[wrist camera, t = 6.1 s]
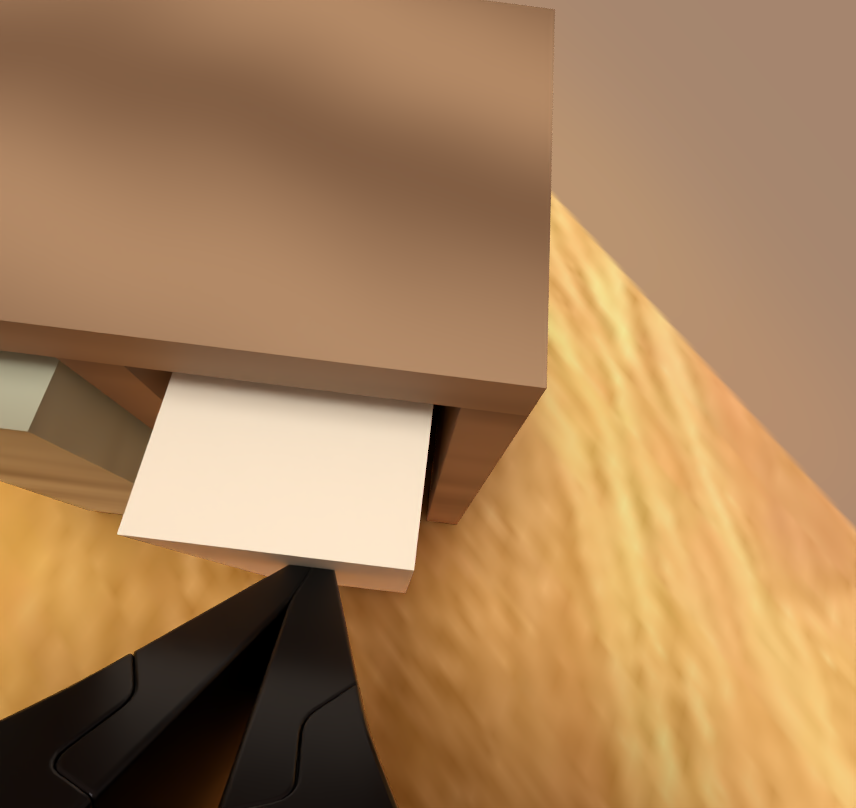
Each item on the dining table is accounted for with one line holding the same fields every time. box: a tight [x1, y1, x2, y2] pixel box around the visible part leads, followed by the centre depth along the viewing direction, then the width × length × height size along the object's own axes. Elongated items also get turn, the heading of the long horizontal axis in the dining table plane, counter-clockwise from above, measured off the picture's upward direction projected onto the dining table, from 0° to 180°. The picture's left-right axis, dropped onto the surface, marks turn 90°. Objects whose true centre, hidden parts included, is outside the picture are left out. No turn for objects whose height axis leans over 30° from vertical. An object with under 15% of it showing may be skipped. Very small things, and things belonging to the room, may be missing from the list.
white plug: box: [117, 372, 433, 593], centre depth 14 cm, size 12×4×9 cm, turn 174°
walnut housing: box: [0, 0, 555, 524], centre depth 13 cm, size 9×13×11 cm
